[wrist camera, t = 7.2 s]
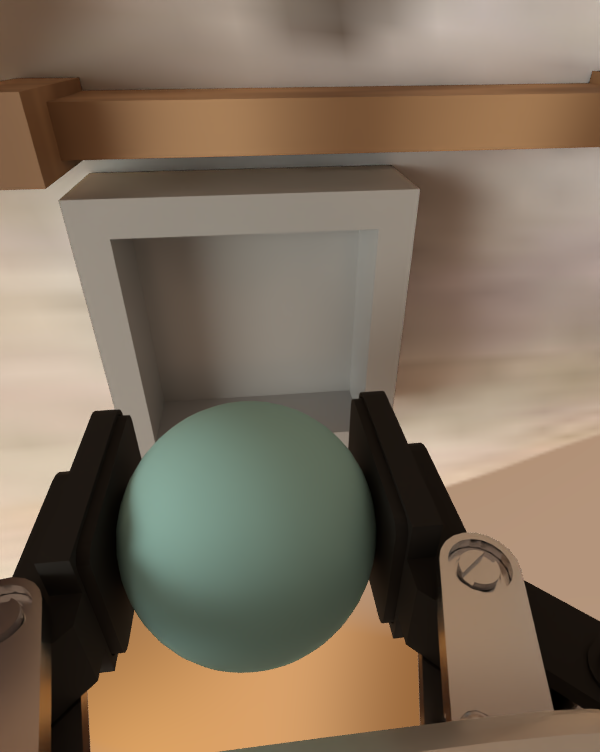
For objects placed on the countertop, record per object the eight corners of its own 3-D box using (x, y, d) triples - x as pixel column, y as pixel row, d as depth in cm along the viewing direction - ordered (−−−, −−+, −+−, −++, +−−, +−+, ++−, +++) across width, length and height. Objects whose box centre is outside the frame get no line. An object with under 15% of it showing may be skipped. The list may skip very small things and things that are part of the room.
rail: (644, 70, 15) (778, 80, 11) (622, 138, 16) (738, 168, 12) (16, 78, 13) (-69, 93, 10) (37, 152, 14) (-33, 191, 11)
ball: (354, 347, 11) (429, 532, 7) (344, 506, 14) (394, 707, 9) (118, 362, 10) (42, 570, 6) (158, 523, 13) (123, 742, 9)
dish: (391, 165, 15) (420, 189, 13) (369, 400, 20) (387, 449, 18) (88, 173, 15) (58, 200, 12) (144, 414, 20) (131, 469, 17)
